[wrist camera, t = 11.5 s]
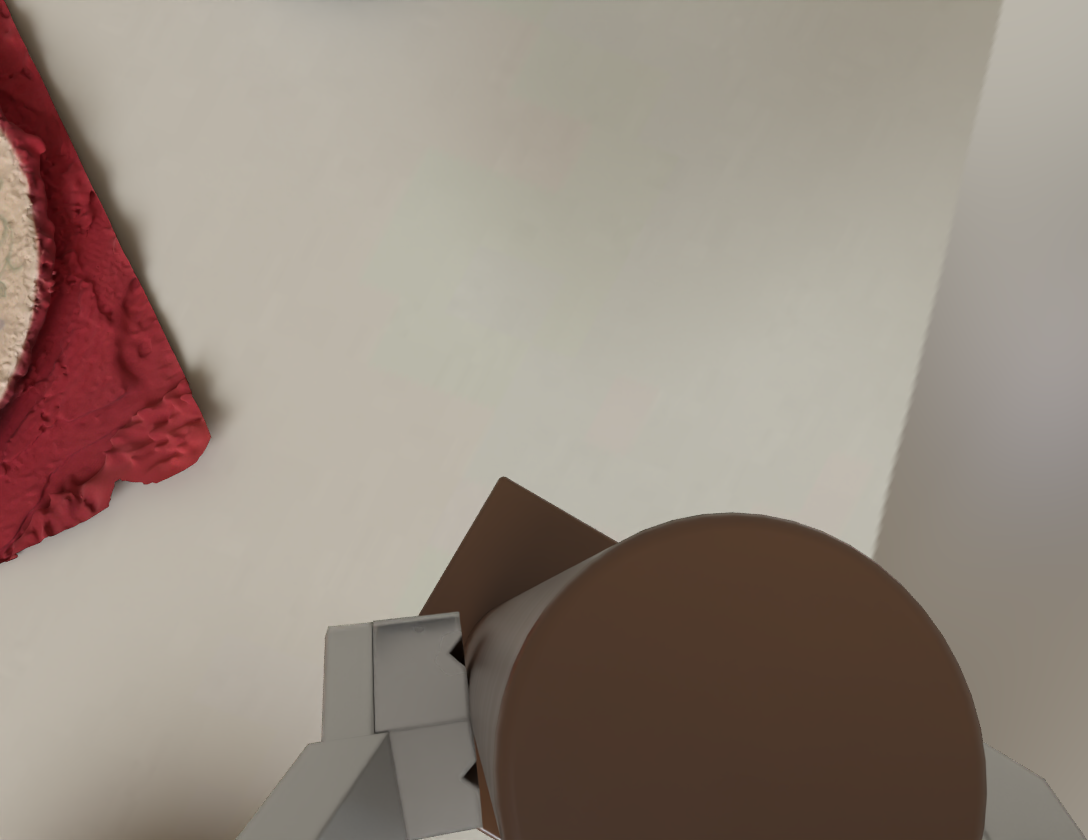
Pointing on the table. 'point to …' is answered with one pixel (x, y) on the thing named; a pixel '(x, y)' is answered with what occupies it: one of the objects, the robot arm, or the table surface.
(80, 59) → the table surface
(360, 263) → the table surface
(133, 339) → the plate with food
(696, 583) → the dish brush
